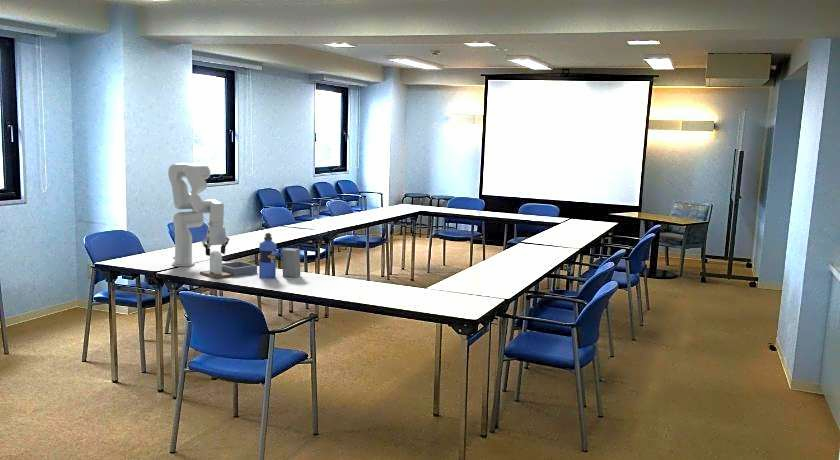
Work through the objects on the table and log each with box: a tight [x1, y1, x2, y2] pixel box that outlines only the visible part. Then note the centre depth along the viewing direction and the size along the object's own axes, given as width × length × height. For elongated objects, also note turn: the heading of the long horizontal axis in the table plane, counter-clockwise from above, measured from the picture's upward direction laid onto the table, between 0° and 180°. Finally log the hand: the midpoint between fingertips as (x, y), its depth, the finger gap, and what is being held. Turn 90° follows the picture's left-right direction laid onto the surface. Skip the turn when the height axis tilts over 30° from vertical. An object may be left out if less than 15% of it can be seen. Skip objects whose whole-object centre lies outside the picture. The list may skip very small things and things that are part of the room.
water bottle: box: [258, 232, 277, 279], centre depth 393 cm, size 9×9×25 cm
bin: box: [222, 260, 258, 277], centre depth 402 cm, size 16×16×4 cm
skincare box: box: [281, 247, 301, 278], centre depth 399 cm, size 8×7×16 cm
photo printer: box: [209, 250, 223, 274], centre depth 391 cm, size 10×4×12 cm, turn 37°
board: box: [199, 269, 233, 280], centre depth 391 cm, size 16×10×2 cm, turn 50°
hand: (215, 254), depth 390 cm, fingers open, 9 cm apart
